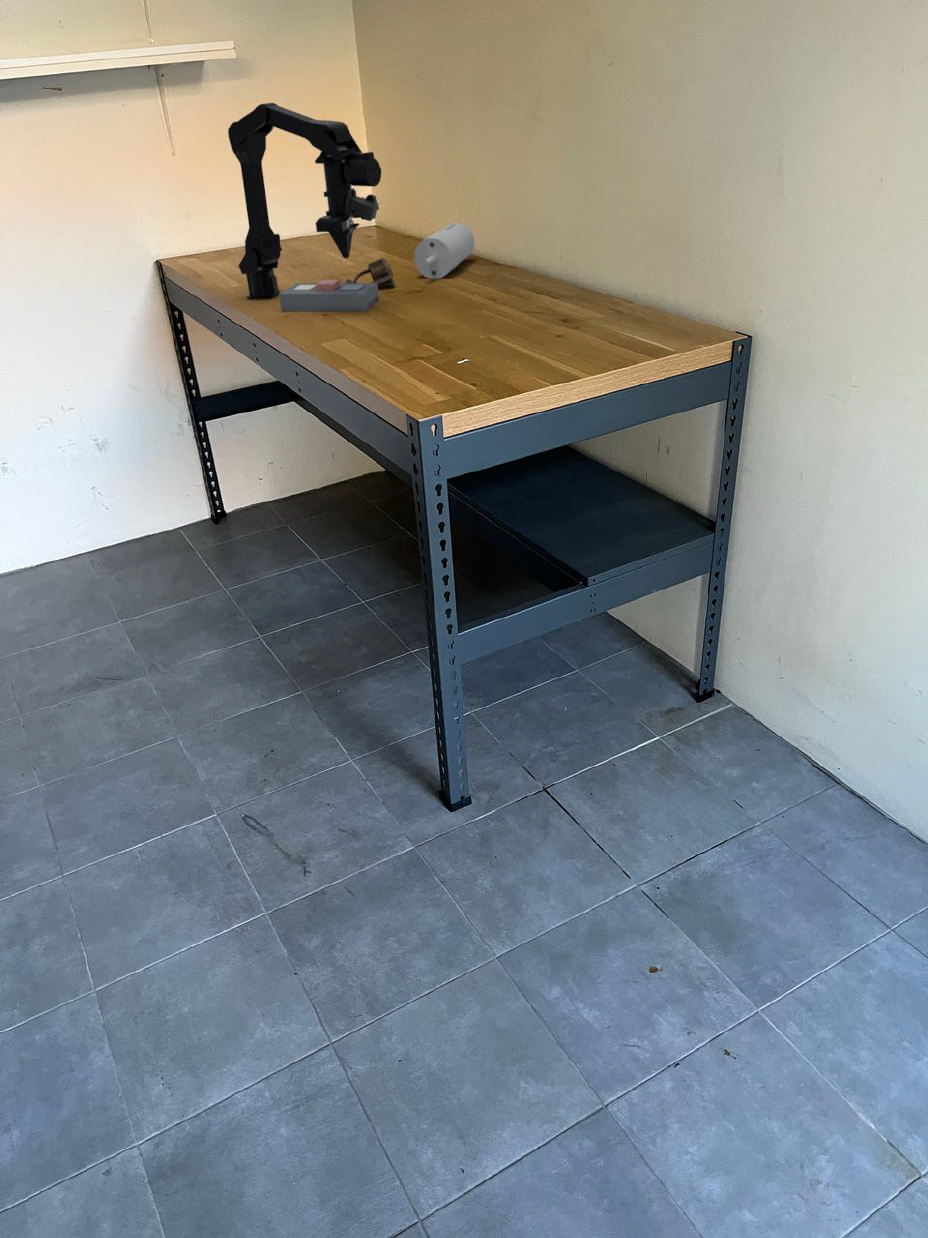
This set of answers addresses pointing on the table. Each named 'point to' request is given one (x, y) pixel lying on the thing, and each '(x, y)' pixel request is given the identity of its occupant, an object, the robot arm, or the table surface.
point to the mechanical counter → (377, 273)
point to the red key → (328, 285)
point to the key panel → (329, 298)
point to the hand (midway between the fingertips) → (346, 257)
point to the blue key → (352, 288)
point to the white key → (305, 288)
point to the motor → (444, 250)
